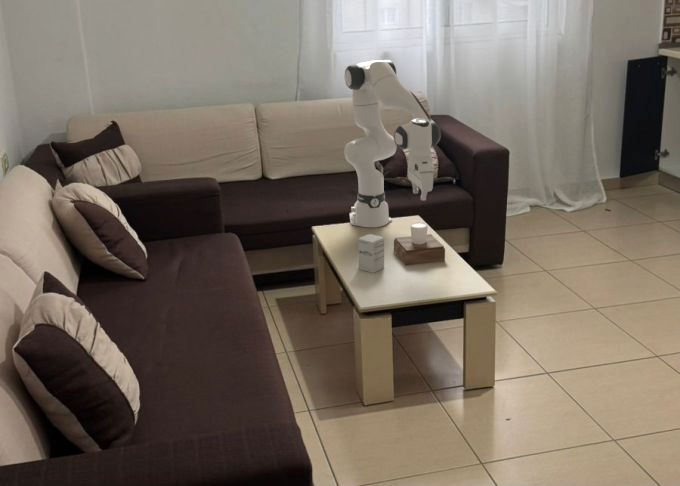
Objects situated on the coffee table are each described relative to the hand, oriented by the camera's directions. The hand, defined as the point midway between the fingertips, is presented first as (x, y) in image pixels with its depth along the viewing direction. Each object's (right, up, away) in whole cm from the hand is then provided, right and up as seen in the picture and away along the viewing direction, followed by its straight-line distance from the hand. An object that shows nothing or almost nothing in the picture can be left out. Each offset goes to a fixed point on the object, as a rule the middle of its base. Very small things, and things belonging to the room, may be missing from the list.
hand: (419, 196), depth 334 cm
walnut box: (+1, -23, +8) cm, 25 cm away
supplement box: (-19, -28, -3) cm, 34 cm away
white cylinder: (0, -18, +6) cm, 19 cm away
